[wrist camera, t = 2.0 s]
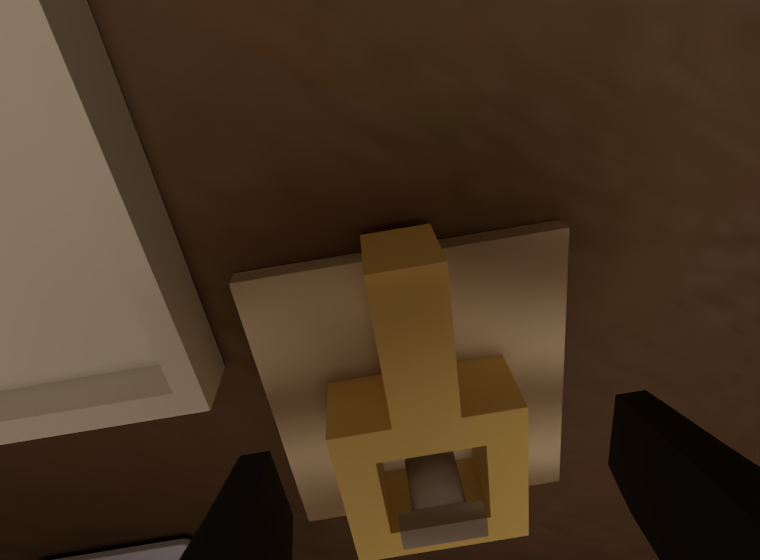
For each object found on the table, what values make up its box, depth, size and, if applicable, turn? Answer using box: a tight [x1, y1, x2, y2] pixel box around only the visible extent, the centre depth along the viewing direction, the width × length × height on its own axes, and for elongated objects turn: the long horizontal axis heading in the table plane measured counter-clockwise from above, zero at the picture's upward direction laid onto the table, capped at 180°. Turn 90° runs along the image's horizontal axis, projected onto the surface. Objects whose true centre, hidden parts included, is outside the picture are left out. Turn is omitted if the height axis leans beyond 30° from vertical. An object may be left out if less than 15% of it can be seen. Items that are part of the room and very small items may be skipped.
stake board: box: [229, 220, 569, 550], centre depth 18 cm, size 13×12×6 cm
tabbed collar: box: [326, 224, 529, 560], centre depth 18 cm, size 13×7×3 cm, turn 8°
